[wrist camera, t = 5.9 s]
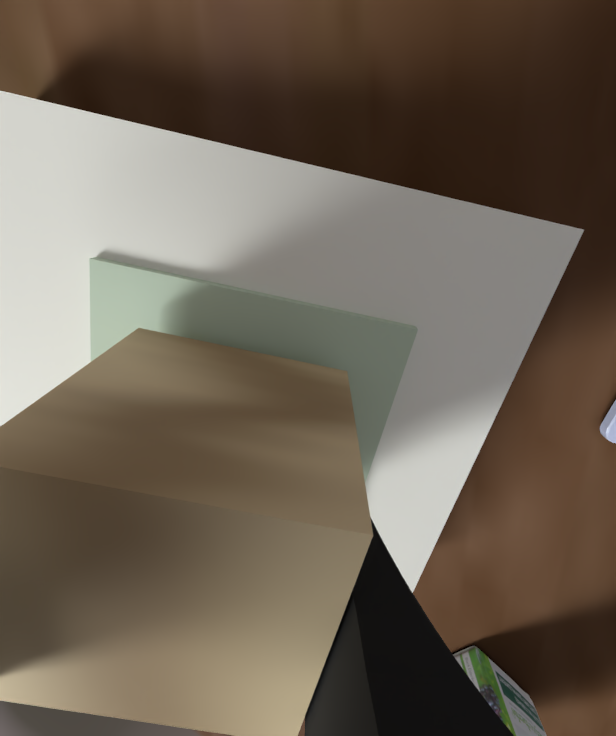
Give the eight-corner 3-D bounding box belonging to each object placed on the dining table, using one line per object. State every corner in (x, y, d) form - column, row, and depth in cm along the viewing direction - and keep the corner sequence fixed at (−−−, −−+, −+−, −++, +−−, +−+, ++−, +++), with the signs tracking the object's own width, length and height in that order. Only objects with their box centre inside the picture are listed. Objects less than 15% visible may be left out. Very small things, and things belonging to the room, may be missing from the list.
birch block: (347, 370, 9) (372, 535, 5) (304, 524, 11) (294, 744, 7) (138, 327, 9) (-46, 458, 5) (132, 492, 11) (-1, 700, 6)
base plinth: (529, 223, 11) (592, 230, 9) (387, 563, 17) (400, 629, 14) (30, 104, 10) (-65, 74, 8) (55, 504, 16) (4, 563, 13)
